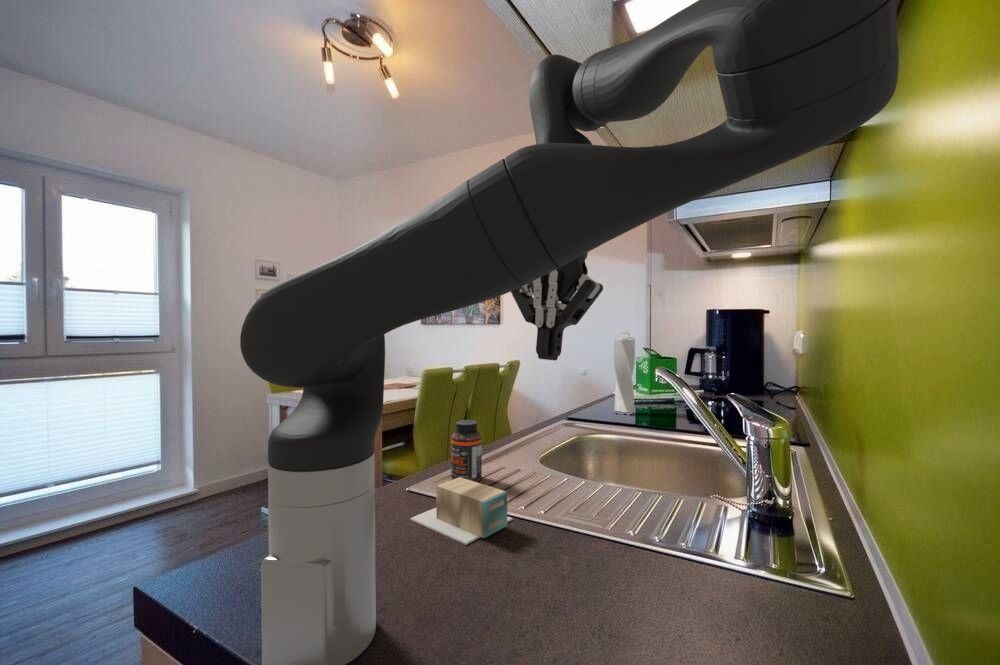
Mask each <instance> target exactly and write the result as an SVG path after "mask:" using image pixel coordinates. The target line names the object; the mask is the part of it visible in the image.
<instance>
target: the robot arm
mask: <svg viewBox="0 0 1000 665" xmlns="http://www.w3.org/2000/svg"><path fill="white" fill-rule="evenodd" d="M897 16H898V15H897V0H697V1H695V2H693V3H691V4H690V5H688V6H687V7H685V8H683V9H681V10H680V11H678V12H675V14H673V15H671V16H670V17H668V18H666V19H664V21H662V22H659V24H657V25H656V26H654V27H652V28H651V29H649V30H647V31H646V32H645V33H642V34H640V35H639V36H637V37H634V38H632V39H630V40H627V41H623V42H622V43H618V44H616V45H613V46H610V47H608V48H605V49H601V50H599V51H597V52H595V53H593V54H592V55H590V56H588V57H587V58H586V59H585V60H584V61H583V62H579V61H577V60H575V59H572V58H570V57H567V56H564V55H563V54H551V55H548V56H546V57H545V58H543V59H542V60H541V61H540V62H539V63H538V65H536V68H535V69H534V70H533V74H532V76H531V80H530V85H529V95H528V96H529V97H528V99H529V100H528V101H529V102H528V103H529V110H530V116H531V121H532V126H533V131H534V138H535V144H532V145H526V146H524V147H522V148H521V147H520V148H519V149H517V150H515V151H513V152H512V153H510V154H509V155H506V156H505V158H502V159H500V160H499V161H497V162H495V163H493V164H492V165H490V166H488V167H487V168H485V169H484V170H482V171H480V172H478V173H477V174H475V175H473V176H471V177H470V178H469V179H467V180H465V181H464V182H463V183H461V184H459V185H458V186H457V187H455V188H454V189H452V190H451V191H449V192H448V193H446V194H445V195H443V196H442V197H440V198H438V199H437V200H435V201H433V202H431V203H430V204H427V205H426V206H424V207H423V208H421V209H419V210H418V211H416V212H414V213H412V214H410V215H409V216H407V217H406V218H404V219H402V220H401V221H399V222H398V223H396V224H394V225H392V226H391V227H389V228H388V229H386V230H385V231H384V232H382V233H380V234H378V235H377V236H376V237H374V238H372V239H370V240H368V241H367V242H365V243H363V244H361V245H360V246H357V247H356V248H354V249H352V250H350V251H348V252H346V253H344V254H341V255H339V256H337V257H335V258H333V259H330V260H328V261H326V262H324V263H322V264H319V265H317V266H315V267H313V268H311V269H309V270H306V271H304V272H302V273H300V274H297V275H295V276H292V277H290V278H288V279H286V280H283V281H282V282H280V283H278V284H276V285H275V286H273V287H270V288H269V289H268V290H266V291H265V292H264V293H263V294H262V295H261V296H259V298H257V300H256V301H255V302H254V304H252V306H251V308H250V309H249V311H248V313H247V314H246V316H245V319H244V321H243V323H242V326H241V331H240V335H239V337H240V338H239V341H240V342H239V344H240V345H239V346H240V352H241V355H242V358H243V361H244V362H245V363H246V365H247V367H248V368H249V369H250V370H251V371H252V373H254V374H255V375H256V376H258V377H259V378H260V379H262V380H264V381H266V382H269V384H273V385H277V386H281V387H287V388H302V393H301V398H300V400H299V402H298V404H297V406H296V407H295V408H294V410H293V411H292V412H291V413H290V414H289V415H288V416H287V417H285V419H284V420H282V421H281V422H280V423H279V424H277V426H275V427H274V429H272V431H271V432H270V433H269V436H268V440H267V469H268V470H267V478H268V482H267V484H268V485H267V488H268V491H267V492H268V494H267V495H268V497H267V501H268V504H267V507H268V555H267V556H266V557H265V558H264V559H263V560H262V561H261V565H260V570H261V571H260V576H261V577H260V578H261V579H260V580H261V583H260V584H261V586H260V587H261V589H260V591H261V597H260V598H261V665H347V664H349V663H350V662H352V661H353V660H355V659H356V658H358V657H359V656H360V655H361V654H362V653H364V652H365V650H366V649H367V648H368V647H369V645H370V644H371V642H372V641H373V639H374V638H375V635H376V631H377V630H376V628H377V610H376V608H377V606H376V603H377V601H376V595H377V594H376V591H377V590H376V505H375V504H376V502H375V501H376V495H375V494H376V493H375V492H376V490H375V489H376V488H375V485H376V484H375V482H376V478H375V477H376V474H375V473H376V472H375V470H376V469H375V468H376V467H375V465H376V464H375V449H376V447H375V443H376V442H375V440H376V435H377V432H378V429H379V426H380V424H381V421H382V416H383V411H384V396H385V395H384V393H385V370H386V369H385V368H386V367H385V366H386V339H385V338H386V336H385V334H387V333H389V332H391V331H394V330H396V329H398V328H400V327H403V326H406V325H408V324H411V323H415V322H418V321H421V320H423V319H424V320H425V319H428V318H430V317H431V318H432V317H435V316H438V315H444V314H446V313H450V312H453V311H457V310H461V309H464V308H467V307H469V306H473V305H477V304H481V303H483V302H486V301H489V300H492V299H496V298H497V297H501V296H503V295H506V294H508V293H510V294H511V295H512V298H513V299H514V302H515V304H516V305H517V307H518V309H519V311H520V313H521V315H522V317H523V319H524V321H525V322H526V323H530V324H532V325H533V326H536V329H537V335H536V342H535V343H536V344H535V345H536V346H535V352H536V354H537V358H538V359H539V360H545V361H548V360H549V361H557V360H558V358H559V357H560V356H561V353H562V347H563V339H564V338H563V335H564V330H565V329H566V328H567V327H570V326H572V325H573V326H576V325H578V324H579V322H580V321H581V319H582V318H583V317H584V316H585V314H586V313H587V312H588V310H589V309H590V308H591V307H592V305H593V304H594V303H595V301H596V300H597V299H598V298H599V296H600V295H601V293H602V292H603V290H604V286H603V284H602V283H600V282H598V281H595V280H593V278H591V277H590V276H589V275H588V272H589V271H588V270H589V269H588V267H587V264H586V260H587V258H588V255H589V252H590V251H592V250H594V249H596V248H598V247H600V246H602V245H604V244H606V243H608V242H610V241H612V240H613V239H615V238H617V237H619V236H622V235H623V234H625V233H628V232H630V231H631V230H634V229H636V228H638V227H640V226H642V225H643V224H644V225H645V223H647V222H649V221H651V220H653V219H656V218H659V217H661V216H663V215H664V214H666V213H669V212H671V211H673V210H676V209H677V208H680V207H682V206H684V205H686V204H689V203H690V202H693V201H696V200H699V199H700V198H703V197H705V196H708V195H710V194H712V193H715V192H719V190H722V189H725V188H727V187H730V186H732V185H734V184H737V183H740V182H743V181H745V180H746V179H749V178H751V177H754V176H756V175H759V174H761V173H763V172H764V173H765V172H766V171H768V170H771V169H773V168H776V167H777V166H781V165H784V164H786V163H787V162H790V161H792V160H795V159H797V158H799V157H801V156H804V155H807V154H808V153H811V152H814V151H815V150H818V149H820V148H822V147H824V146H827V145H828V144H831V143H832V142H833V143H834V141H837V140H838V139H840V138H842V137H844V136H846V135H848V134H850V133H851V132H853V131H855V130H856V129H858V128H859V127H861V126H863V125H865V123H867V122H869V121H870V120H872V118H874V117H875V116H876V115H878V114H880V112H882V110H884V108H885V107H886V106H887V105H888V104H889V103H890V101H891V99H892V98H893V96H894V95H895V92H896V88H897V84H898V77H899V67H900V66H899V64H900V63H899V62H900V57H899V55H900V54H899V53H900V52H899V46H898V44H899V42H898V19H897V18H898V17H897ZM710 46H711V48H712V58H713V64H714V66H715V67H714V68H715V70H716V76H717V79H718V83H719V87H720V91H721V95H722V100H723V103H724V104H723V105H724V109H725V112H726V113H725V114H726V117H727V118H726V119H725V120H724V121H723V122H722V123H720V124H719V125H717V126H716V127H713V128H712V129H709V130H708V131H705V132H702V133H701V134H698V135H696V136H693V137H691V138H688V139H684V140H680V141H677V142H671V143H669V144H662V145H653V146H652V145H651V146H612V145H603V144H602V145H599V144H593V143H592V142H591V140H590V139H589V138H588V137H587V136H585V134H583V133H581V132H580V131H584V132H595V131H597V130H599V129H600V128H602V127H604V126H605V125H607V124H608V123H614V122H625V121H626V122H628V121H635V120H638V119H641V118H643V117H645V116H647V115H650V114H651V113H653V112H655V111H656V110H657V109H658V108H660V107H661V106H662V105H663V104H664V103H665V102H666V101H667V100H668V99H669V98H670V96H671V95H672V94H673V92H674V91H675V89H677V87H678V86H679V84H680V82H681V81H682V79H683V78H684V76H685V74H686V73H687V72H688V70H689V69H690V67H691V66H692V64H693V63H694V61H695V60H696V59H697V58H698V57H699V56H700V55H701V53H702V52H703V51H704V50H706V48H708V47H710Z"/></svg>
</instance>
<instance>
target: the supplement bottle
mask: <svg viewBox="0 0 1000 665" xmlns="http://www.w3.org/2000/svg"><path fill="white" fill-rule="evenodd" d="M455 425H456V426H455V429H456V430H455V432H453V433H452V435H451V436H450V476H451V477H450V479H451V480H453V479H456V478H459V477H461V478H464V479H467V480H471V481H474V482H477V483H479V481H481V480H482V471H483V469H482V465H483V463H482V458H483V457H482V456H483V455H482V451H483V450H482V443H483V442H482V435H481V432H479V431H478V429H477V427H478V424H477V421H475V420H472V419H463V420H459V421H456V423H455Z"/></svg>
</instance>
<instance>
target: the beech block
mask: <svg viewBox="0 0 1000 665" xmlns="http://www.w3.org/2000/svg"><path fill="white" fill-rule="evenodd" d="M435 487H436V494H435V495H436V496H435V499H436V507H435V508H436V514H437V519H439V520H441V521H444V522H446V523H449V524H451V525H453V526H456V527H458V528H461V529H463V530H465V531H468V532H470V533H472V534H475V535H477V536H480V538H482V539H486V538H488V537H489V536H491V535H493V534H494V533H496V532H499V531H501V530H502V529H504V528H506V527H507V526H508V523H507V516H508V491H506V490H503V489H499V488H496V487H494V486H490V485H487V484H484V483H480V482H474V481H471V480H467V479H464V478H461V477H459V478H456V479H453V480H452V479H451V480H448V481H446V482H444V483H443V482H442V483H440V484H437V485H436V486H435Z"/></svg>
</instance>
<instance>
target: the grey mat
mask: <svg viewBox="0 0 1000 665" xmlns="http://www.w3.org/2000/svg"><path fill="white" fill-rule="evenodd" d="M410 521H411V522H414V523H416V524H418V525H420V526H423V527H425V528H428V529H429V530H432V531H434V532H437V534H440V535H443V536H445V537H447V538H449V539H452V540H453V541H455V542H456V541H457V542H459V543H461V544H462V545H465V546H466V545H469V544H471V543H473V542H474V541H476V540H478V539H480V538H481V537H480V536H477V535H475V534H472V533H470V532H468V531H465V530H463V529H461V528H458V527H456V526H453V525H451V524H449V523H446V522H444V521H441V520H439V519H437V514H436V507H434V508H432V509H429V510H426V511H424V512H422V513H420V514H417V515H415V516H412V517H410ZM511 521H513V517H510V516H508V515H507V524H508V523H510V522H511Z"/></svg>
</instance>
